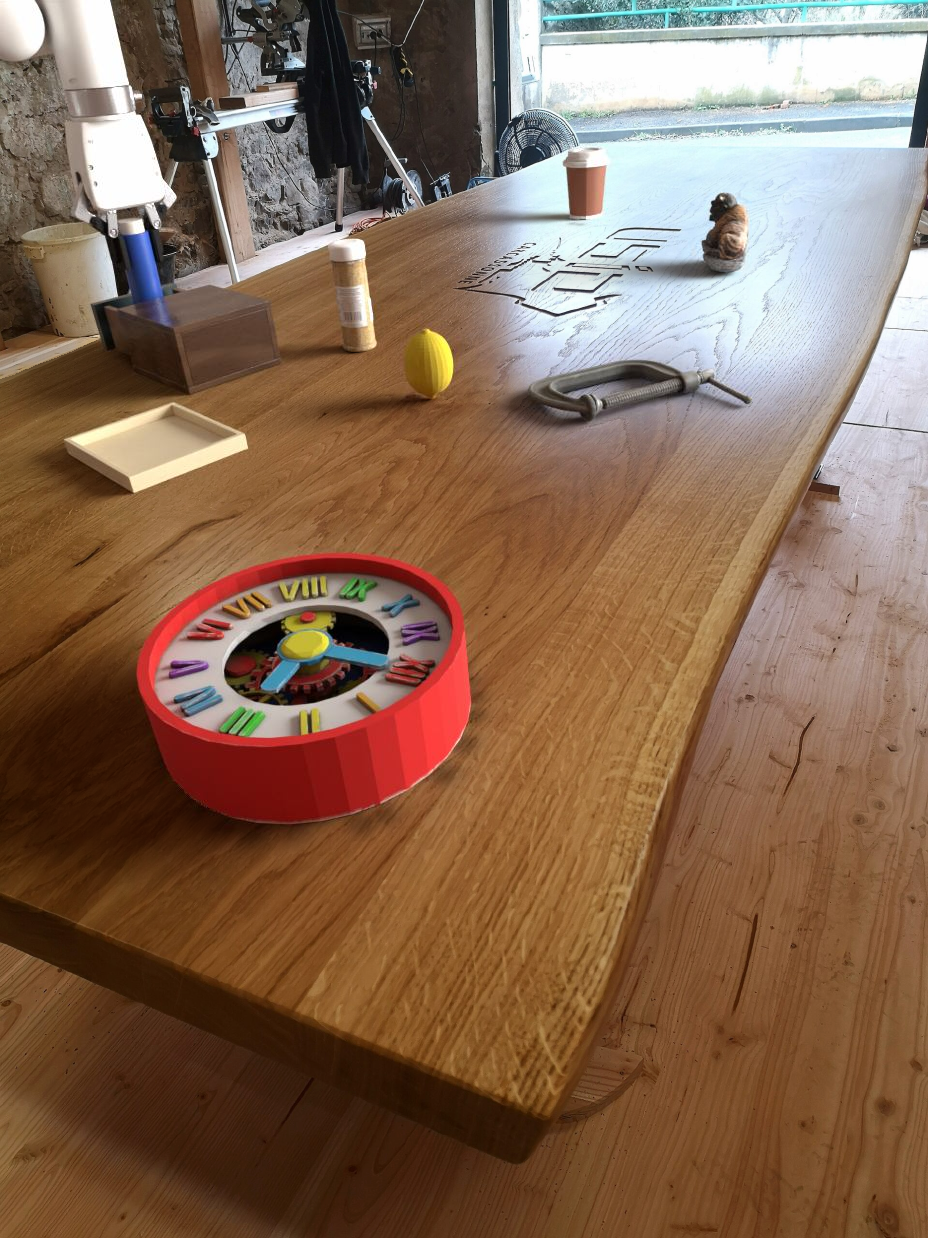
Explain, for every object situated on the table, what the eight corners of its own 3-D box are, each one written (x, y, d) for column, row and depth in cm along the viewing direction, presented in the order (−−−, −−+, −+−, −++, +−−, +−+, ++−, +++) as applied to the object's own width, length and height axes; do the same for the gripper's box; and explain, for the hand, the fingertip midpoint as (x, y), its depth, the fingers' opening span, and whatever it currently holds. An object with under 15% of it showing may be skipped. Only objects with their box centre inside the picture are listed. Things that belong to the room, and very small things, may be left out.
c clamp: (665, 359, 108) (666, 337, 107) (752, 405, 95) (755, 380, 93) (512, 391, 103) (511, 368, 102) (581, 445, 90) (582, 419, 88)
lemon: (464, 393, 104) (459, 323, 99) (439, 410, 100) (433, 338, 95) (424, 387, 106) (417, 319, 102) (398, 403, 102) (390, 333, 98)
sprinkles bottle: (382, 343, 121) (370, 237, 114) (366, 354, 118) (352, 246, 110) (353, 341, 123) (338, 236, 115) (336, 351, 120) (320, 245, 112)
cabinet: (134, 371, 119) (116, 308, 114) (222, 343, 126) (209, 284, 122) (189, 394, 110) (173, 328, 105) (281, 363, 117) (269, 300, 113)
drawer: (90, 344, 127) (76, 298, 124) (168, 322, 134) (157, 278, 130) (150, 368, 116) (136, 319, 113) (232, 343, 123) (221, 296, 119)
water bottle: (135, 330, 123) (107, 220, 115) (161, 323, 125) (136, 215, 117) (149, 335, 121) (121, 224, 113) (176, 328, 123) (150, 218, 115)
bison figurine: (751, 275, 136) (759, 204, 131) (704, 278, 137) (710, 206, 131) (738, 256, 146) (745, 189, 140) (694, 259, 147) (699, 192, 141)
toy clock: (253, 536, 66) (509, 574, 59) (268, 602, 69) (512, 646, 63) (62, 705, 51) (376, 782, 44) (93, 779, 54) (390, 861, 48)
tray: (68, 453, 97) (63, 439, 96) (176, 415, 104) (173, 401, 103) (133, 493, 88) (128, 477, 87) (248, 448, 95) (245, 433, 94)
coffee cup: (585, 209, 186) (585, 145, 179) (618, 214, 180) (619, 147, 173) (553, 217, 182) (552, 151, 175) (586, 222, 176) (586, 154, 169)
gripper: (149, 97, 115) (182, 248, 125) (19, 111, 106) (66, 273, 116) (178, 98, 110) (210, 255, 121) (45, 113, 101) (92, 282, 111)
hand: (139, 262), depth 118 cm, fingers closed on water bottle, 4 cm apart
